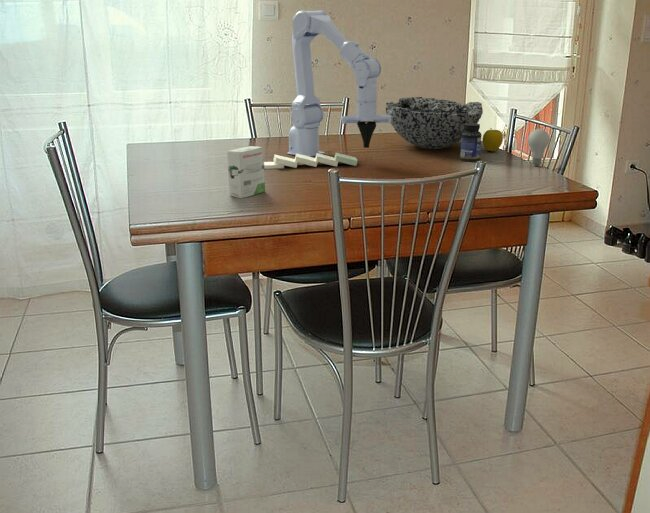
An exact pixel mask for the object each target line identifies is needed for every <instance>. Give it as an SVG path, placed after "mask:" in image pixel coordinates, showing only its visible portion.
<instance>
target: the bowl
mask: <svg viewBox="0 0 650 513" xmlns="http://www.w3.org/2000/svg"><path fill="white" fill-rule="evenodd" d="M482 104H483V103H482V102H480V101H469V102H467V103H465V104H462V103H461V102H457V101H453V100H447V99H440V98H439V99H438V98H437V99H436V98H434V97H422V96H410V97H400V98H399V99H398V102H393V101H389V102H386V104H385V105H386V106H385V114H386V115H390V116H391V123H390V124H391V126H392V127H393V128H394V131H395V132H396V133H397V134H398V135H399V136H400V137H402V138H403V139H404V140H405V141H406V142H407V143H410V145H413V146H415V147H419V148H422V149H427V150H439V149H446V148H448V147H452V146H453V145H456V144H457V143H459V142H461V134H462V132H464V131H465V129H464V124H466V123H477V124H479V122H480V120H481V118H482V116H483V112H484V109H483V105H482Z"/></svg>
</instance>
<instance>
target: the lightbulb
mask: <svg viewBox="0 0 650 513" xmlns="http://www.w3.org/2000/svg"><path fill="white" fill-rule="evenodd" d="M527 137H528V138H527V142H528V146H529V148H530V151H531V158H532V160H531V162H532V163H531V164H532V165H533V166H534V167H539V166H540V165H541V164H542V159H543V157H544V153H545V150H546V149H547V147H548V146H549V144H550V138H551V137H550V135H549V133H548V131H546V130H545V129H543V128H537V129H534V130H532V131H531V132H530V133H529V135H528V136H527Z"/></svg>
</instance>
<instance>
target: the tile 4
mask: <svg viewBox="0 0 650 513" xmlns="http://www.w3.org/2000/svg"><path fill="white" fill-rule="evenodd" d="M334 157H335V156H334ZM334 157H333V156H329V155H326V154H319V153H316V156H314V158H315V159H316V162H318V163H321V164H324V165H329V166H333V167H338V164H339V162H338V161H335V158H334Z"/></svg>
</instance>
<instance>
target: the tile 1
mask: <svg viewBox="0 0 650 513" xmlns="http://www.w3.org/2000/svg"><path fill="white" fill-rule="evenodd" d="M284 168H285V165H281V164H277V163H275V162H274V161H264V170H269V169H271V170H272V169H284Z"/></svg>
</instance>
